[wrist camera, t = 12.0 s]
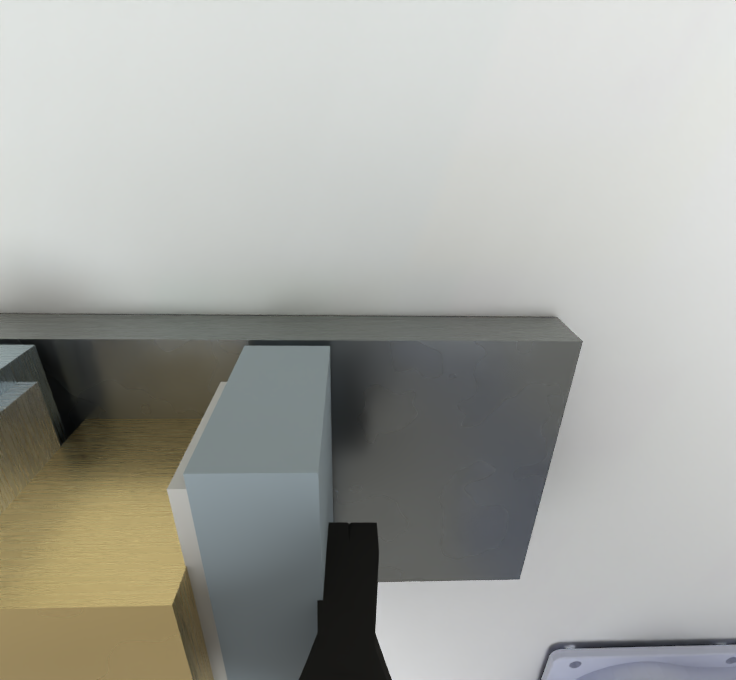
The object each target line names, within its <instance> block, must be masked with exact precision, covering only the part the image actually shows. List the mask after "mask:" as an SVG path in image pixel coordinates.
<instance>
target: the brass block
mask: <svg viewBox="0 0 736 680" xmlns="http://www.w3.org/2000/svg"><path fill="white" fill-rule="evenodd" d="M201 420H202V419H85V420H84V421H83V422H82V423H81V424H80V425H79V427H78V428H77V429H76V430H75V431H74V432H73V433H72V434H71V435H70V437H69V438H68V439H67V440H66V441H65V442H64V443H63V444H62V445H61V448H60V449H59V450H58V451H57V452H56V453H55V454H54V455H53V456H52V458H51V459H50V460H49V461H48V462H47V463H46V464H45V465H44V467H43V468H42V469H41V470H40V471H39V472H38V473H37V474H36V475H35V477H34V478H33V479H32V480H31V481H30V482H29V483H28V484H27V486H26V487H25V488H24V489H23V490H22V491H21V492H20V493H19V494H18V496H17V497H16V498H15V499H14V500H13V501H12V502H11V503H10V504H9V506H8V507H7V508H6V509H5V510H4V511H3V512H2V513H1V515H0V680H214V678H213V674H212V670H211V666H210V661H209V657H208V653H207V649H206V645H205V641H204V636H203V632H202V628H201V624H200V620H199V616H198V611H197V607H196V603H195V599H194V595H193V591H192V587H191V582H190V578H189V574H188V570H187V566H185V562H184V558H183V554H182V550H181V546H180V542H179V538H178V534H177V529H176V525H175V521H174V517H173V513H172V509H171V505H170V500H169V496H168V492H167V488H168V486H169V484H170V482H171V480H172V478H173V476H174V474H175V472H176V470H177V468H178V466H179V464H180V462H181V460H182V458H183V456H184V454H185V452H186V450H187V448H188V446H189V444H190V442H191V440H192V438H193V436H194V434H195V432H196V430H197V428H198V426H199V424H200V422H201Z"/></svg>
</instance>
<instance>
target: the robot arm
mask: <svg viewBox="0 0 736 680" xmlns="http://www.w3.org/2000/svg"><path fill="white" fill-rule="evenodd" d="M378 566H379V543H378V530H377V523H373V522H351V523H350V524H349V523H347V522H329V525H328V537H327V550H326V563H325V578H324V592H323V600H317V635H316V638H315V640H314V643H313V646H312V648H311V651H310V653H309V656H308V659H307V661H306V663H305V666H304V668H303V671H302V673H301V675H300V678H299V680H392V679H391V676H390V674H389V671H388V668H387V666H386V663H385V660H384V657H383V654H382V651H381V649H380V646H379V643H378V640H377V637H376V634H375V624H376V604H377V585H378ZM541 680H736V645H698V646H658V647H618V648H579V649H558V650H555V651H553V652H552V653H551V654H550V656H549V659H548V661H547V664H546V667H545V670H544V673H543V675H542V678H541Z"/></svg>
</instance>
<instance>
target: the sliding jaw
mask: <svg viewBox="0 0 736 680" xmlns="http://www.w3.org/2000/svg"><path fill="white" fill-rule="evenodd" d="M167 492H168V496H169V500H170V505H171V509H172V513H173V517H174V521H175V525H176V529H177V534H178V538H179V542H180V546H181V550H182V554H183V558H184V562H185V566H187V570H188V574H189V578H190V582H191V587H192V591H193V595H194V599H195V603H196V607H197V611H198V616H199V620H200V624H201V628H202V632H203V636H204V641H205V645H206V649H207V653H208V657H209V661H210V666H211V670H212V674H213V678H214V680H299V678H300V675H301V673H302V671H303V668H304V666H305V663H306V661H307V659H308V656H309V653H310V651H311V648H312V646H313V643H314V640H315V638H316V635H317V600H323V592H324V578H325V563H326V550H327V537H328V525H329V522H333V479H332V424H331V369H330V346H244V348H243V350H242V352H241V354H240V356H239V358H238V360H237V362H236V364H235V366H234V369H233V371H232V373H231V375H230V377H229V379H228V381H227V382H220V384H219V386H218V388H217V390H216V392H215V394H214V396H213V398H212V400H211V402H210V404H209V406H208V408H207V410H206V412H205V414H204V416H203V418H202V420H201V422H200V424H199V426H198V428H197V430H196V432H195V434H194V436H193V438H192V440H191V442H190V444H189V446H188V448H187V450H186V452H185V454H184V456H183V458H182V460H181V462H180V464H179V466H178V468H177V470H176V472H175V474H174V476H173V478H172V480H171V482H170V484H169V486H168V488H167Z"/></svg>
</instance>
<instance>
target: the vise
mask: <svg viewBox="0 0 736 680" xmlns="http://www.w3.org/2000/svg"><path fill="white" fill-rule="evenodd" d="M582 342H583V341H582V340H581V339H580V338H579V337H577V336H576V335H575V334H574V333H573V332H572V331H571V330H570V329H569V328H568V327H567V326H566V325H565V324H564V323H563V322H562V321H560V320H559V319H558V318H557V317H419V316H263V315H107V314H0V515H1V513H2V512H3V511H4V510H5V509H6V508H7V507H8V506H9V504H10V503H11V502H12V501H13V500H14V499H15V498H16V497H17V496H18V494H19V493H20V492H21V491H22V490H23V489H24V488H25V487H26V486H27V484H28V483H29V482H30V481H31V480H32V479H33V478H34V477H35V475H36V474H37V473H38V472H39V471H40V470H41V469H42V468H43V467H44V465H45V464H46V463H47V462H48V461H49V460H50V459H51V458H52V456H53V455H54V454H55V453H56V452H57V451H58V450H59V449H60V448H61V445H62V444H63V443H64V442H65V441H66V440H67V439H68V438H69V437H70V435H71V434H72V433H73V432H74V431H75V430H76V429H77V428H78V427H79V425H80V424H81V423H82V422H83V421H84V420H85V419H202V418H203V416H204V414H205V412H206V410H207V408H208V406H209V404H210V402H211V400H212V398H213V396H214V394H215V392H216V390H217V388H218V386H219V384H220V382H227V381H228V379H229V377H230V375H231V373H232V371H233V369H234V366H235V364H236V362H237V360H238V358H239V356H240V354H241V352H242V350H243V348H244V346H330V369H331V424H332V479H333V522H347V523H349V524H350V523H351V522H373V523H377V530H378V543H379V566H378V582H402V581H456V580H510V579H520V575H521V571H522V568H523V564H524V560H525V556H526V553H527V549H528V545H529V541H530V538H531V534H532V530H533V526H534V522H535V519H536V515H537V511H538V507H539V504H540V500H541V496H542V492H543V489H544V485H545V481H546V477H547V474H548V470H549V466H550V462H551V458H552V455H553V451H554V447H555V443H556V440H557V436H558V432H559V428H560V425H561V421H562V417H563V413H564V410H565V406H566V402H567V398H568V394H569V391H570V387H571V383H572V379H573V376H574V372H575V368H576V364H577V361H578V357H579V353H580V349H581V346H582Z"/></svg>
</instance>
